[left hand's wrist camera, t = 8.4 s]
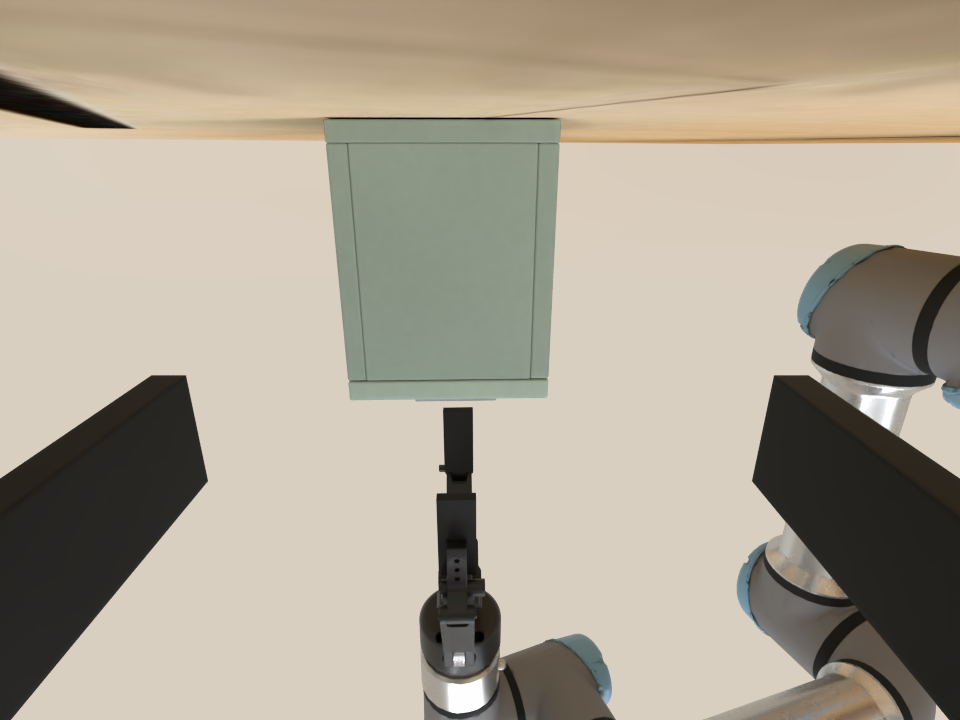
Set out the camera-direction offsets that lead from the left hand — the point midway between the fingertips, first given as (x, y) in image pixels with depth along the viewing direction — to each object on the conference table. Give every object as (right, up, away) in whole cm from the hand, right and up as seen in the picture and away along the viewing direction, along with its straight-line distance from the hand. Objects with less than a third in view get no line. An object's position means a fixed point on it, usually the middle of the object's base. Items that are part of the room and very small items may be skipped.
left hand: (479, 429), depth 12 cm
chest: (-2, +14, +17) cm, 22 cm away
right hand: (-2, -5, +32) cm, 32 cm away
